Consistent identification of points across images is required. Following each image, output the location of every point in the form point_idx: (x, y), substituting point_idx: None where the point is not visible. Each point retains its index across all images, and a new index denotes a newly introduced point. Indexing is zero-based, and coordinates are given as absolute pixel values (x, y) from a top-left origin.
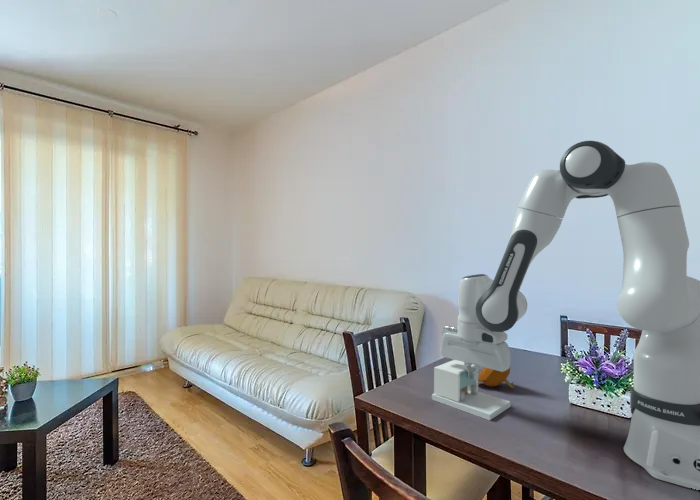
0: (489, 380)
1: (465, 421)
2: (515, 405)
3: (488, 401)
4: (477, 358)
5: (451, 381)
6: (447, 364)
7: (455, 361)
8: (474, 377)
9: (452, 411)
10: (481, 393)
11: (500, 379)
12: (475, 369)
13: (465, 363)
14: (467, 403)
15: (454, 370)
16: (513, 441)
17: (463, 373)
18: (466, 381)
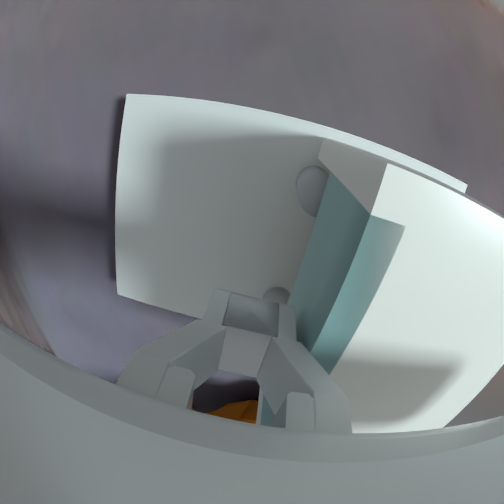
0: (243, 412)
1: (232, 15)
2: (122, 301)
3: (183, 247)
4: (48, 472)
5: (419, 173)
6: (474, 380)
7: None
8: (222, 300)
9: (330, 81)
10: None
11: None
12: (263, 419)
13: (332, 423)
14: (270, 155)
15: (442, 288)
16: (54, 22)
17: (334, 284)
18: (304, 279)
